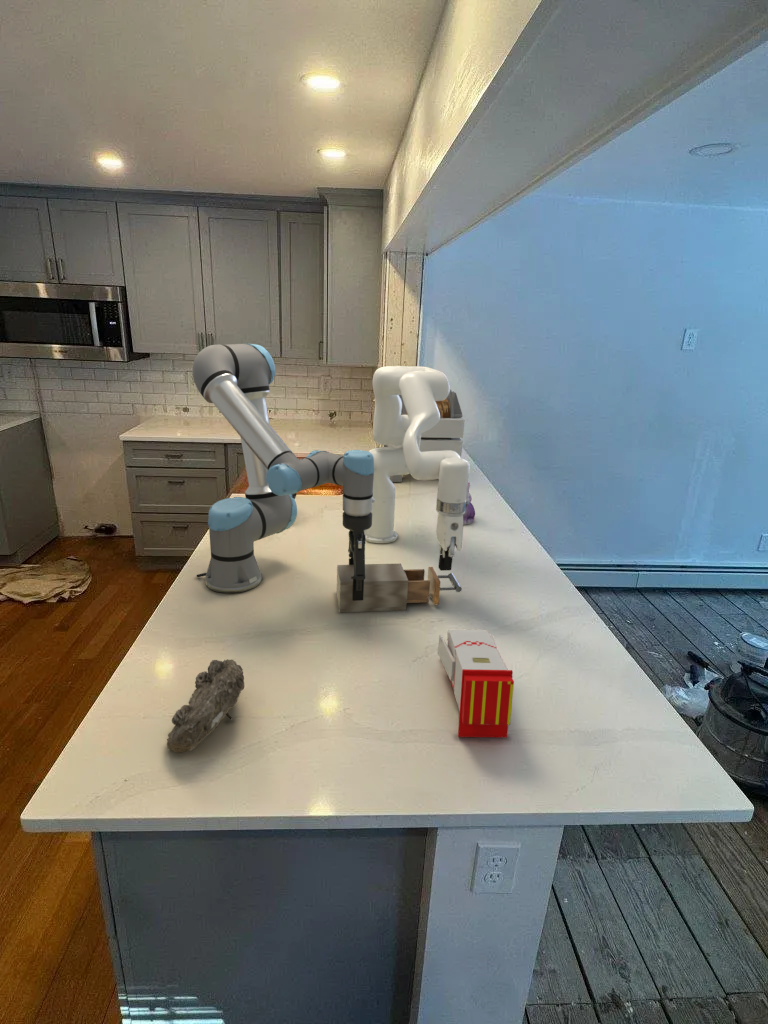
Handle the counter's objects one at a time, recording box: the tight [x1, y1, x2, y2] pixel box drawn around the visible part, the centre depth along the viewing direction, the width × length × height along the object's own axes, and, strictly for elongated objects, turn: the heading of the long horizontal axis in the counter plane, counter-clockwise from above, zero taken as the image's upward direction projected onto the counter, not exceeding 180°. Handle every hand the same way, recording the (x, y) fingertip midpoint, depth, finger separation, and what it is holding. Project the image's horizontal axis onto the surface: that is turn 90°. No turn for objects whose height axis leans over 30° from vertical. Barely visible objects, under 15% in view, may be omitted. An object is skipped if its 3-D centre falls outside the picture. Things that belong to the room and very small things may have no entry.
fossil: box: [166, 658, 245, 754], centre depth 106 cm, size 22×10×15 cm
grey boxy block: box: [336, 563, 408, 613], centre depth 152 cm, size 18×10×9 cm, turn 99°
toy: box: [437, 628, 515, 738], centre depth 117 cm, size 12×13×30 cm
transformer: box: [383, 389, 465, 483], centre depth 268 cm, size 34×33×41 cm
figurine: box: [463, 481, 476, 526], centre depth 212 cm, size 9×10×15 cm
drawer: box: [404, 566, 463, 605], centre depth 154 cm, size 23×9×7 cm, turn 99°
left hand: (355, 589), depth 151 cm, fingers closed on grey boxy block, 10 cm apart
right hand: (444, 569), depth 153 cm, fingers closed
